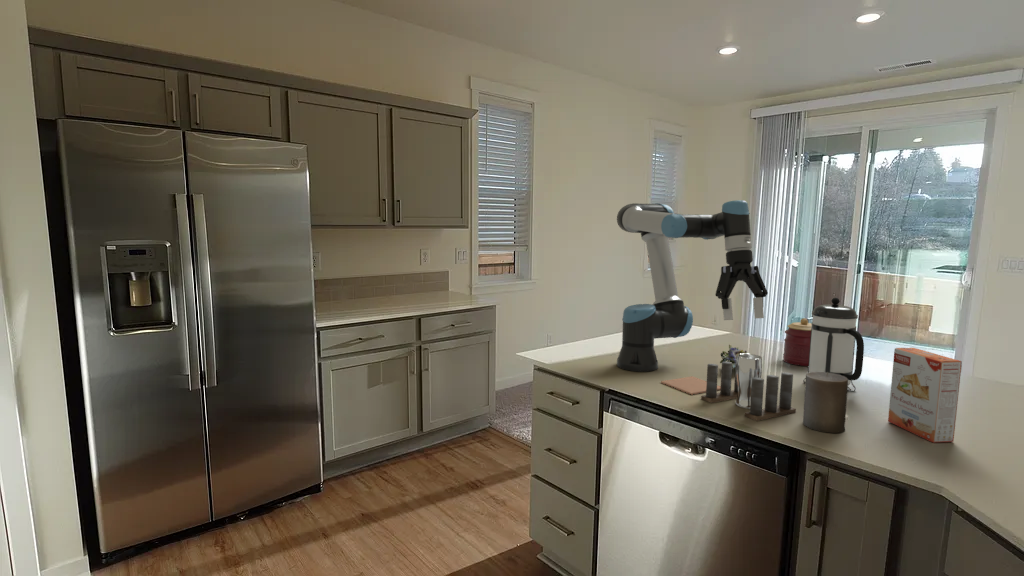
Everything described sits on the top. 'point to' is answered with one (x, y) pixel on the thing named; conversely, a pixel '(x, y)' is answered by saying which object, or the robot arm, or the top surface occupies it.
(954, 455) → the top surface
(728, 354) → the passion flower
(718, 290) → the robot arm
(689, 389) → the tile pad
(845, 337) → the coffee press
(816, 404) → the pillar candle
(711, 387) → the rack
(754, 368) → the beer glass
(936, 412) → the cracker box
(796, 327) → the canister
